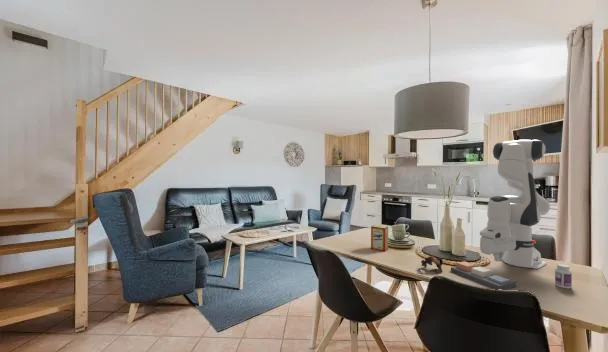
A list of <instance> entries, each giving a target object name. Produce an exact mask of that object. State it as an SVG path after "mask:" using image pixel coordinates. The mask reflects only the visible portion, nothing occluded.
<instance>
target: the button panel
mask: <svg viewBox="0 0 608 352" xmlns="http://www.w3.org/2000/svg"><path fill="white" fill-rule="evenodd" d="M450 272H451V273H453V274H456V275H458V276H462V277H463V278H467V279H470V280H472V281H475V282H477V283H480V284H483V285H484V286H487V287H489V288H492V289H495V290H497V289H504V290H508V289H510V288H515V287H517V281H515V280H512V279H509V278H506V277H503V276H500V275H498V274H494V273H492V272H491V276H494V275H497V276H500V277H503V278H506V279H509V283H505V284H499V283H497V282H494V281H491V280H489V279H488V277H490V276H488V277H484V278H483V277H481V276H478V275H475V274H473V273H472V271H468V272H467V271H464V270H462V269H459V268H457V265H456V266H452V267H450Z"/></svg>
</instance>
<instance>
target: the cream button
mask: <svg viewBox="0 0 608 352" xmlns="http://www.w3.org/2000/svg"><path fill="white" fill-rule="evenodd" d="M472 273H473V274H475V275H478V276H481V277H483V278H484V277H488V276H491V273H492V269H488V268H485V267H483V266H475V267H474V268H472Z"/></svg>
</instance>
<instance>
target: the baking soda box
mask: <svg viewBox="0 0 608 352" xmlns="http://www.w3.org/2000/svg"><path fill="white" fill-rule="evenodd" d="M370 249H371V250H373V251H379V252H387V251H388V250H389V226H388V225H381V224H374V225H372V226H371V225H370Z"/></svg>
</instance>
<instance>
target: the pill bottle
mask: <svg viewBox="0 0 608 352" xmlns="http://www.w3.org/2000/svg"><path fill="white" fill-rule="evenodd" d="M556 267H557V268H556V269H555V270H554V283H555V285H556V287H560V288H562V289H572V286H573V285H572V275H573V274H572V272H571V270H570V266H569V265H567V264H561V263H558V264H556Z"/></svg>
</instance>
